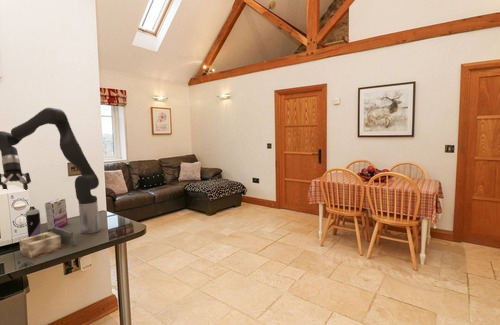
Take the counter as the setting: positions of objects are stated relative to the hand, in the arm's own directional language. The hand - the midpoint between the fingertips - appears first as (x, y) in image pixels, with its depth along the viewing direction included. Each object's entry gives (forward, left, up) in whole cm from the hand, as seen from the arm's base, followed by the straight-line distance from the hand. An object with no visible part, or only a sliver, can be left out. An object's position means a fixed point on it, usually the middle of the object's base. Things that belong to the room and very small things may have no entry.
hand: (16, 190), depth 150 cm
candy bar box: (-14, -11, -26) cm, 32 cm away
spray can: (-13, +18, -26) cm, 34 cm away
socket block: (-19, +30, -25) cm, 43 cm away
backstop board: (-21, +29, -26) cm, 44 cm away
